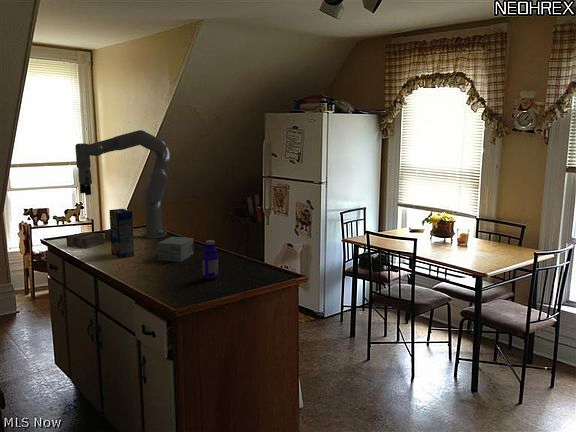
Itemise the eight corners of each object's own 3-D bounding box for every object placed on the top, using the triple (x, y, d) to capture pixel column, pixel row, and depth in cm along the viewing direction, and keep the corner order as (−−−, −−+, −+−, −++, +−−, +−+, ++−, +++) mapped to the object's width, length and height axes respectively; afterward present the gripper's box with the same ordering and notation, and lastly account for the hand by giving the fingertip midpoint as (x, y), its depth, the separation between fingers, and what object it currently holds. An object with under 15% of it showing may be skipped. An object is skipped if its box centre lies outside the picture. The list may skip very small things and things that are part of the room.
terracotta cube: (119, 239, 316) (119, 229, 315) (113, 241, 311) (112, 231, 310) (111, 238, 318) (111, 228, 317) (105, 240, 313) (104, 230, 312)
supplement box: (181, 262, 264) (181, 244, 263) (157, 260, 267) (156, 242, 265) (194, 254, 281) (193, 237, 279) (171, 253, 283) (171, 236, 282)
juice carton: (111, 254, 279) (109, 209, 275) (124, 252, 283) (122, 208, 279) (120, 258, 270) (118, 212, 266) (134, 256, 274) (132, 211, 270)
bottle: (212, 275, 241) (211, 238, 238) (220, 278, 237) (220, 240, 234) (200, 279, 235) (199, 241, 232) (208, 281, 232) (208, 243, 229)
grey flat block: (103, 244, 303) (103, 234, 302) (86, 249, 290) (85, 238, 289) (84, 242, 308) (84, 232, 307) (67, 247, 295) (66, 236, 294)
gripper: (94, 165, 299) (97, 195, 302) (85, 163, 312) (87, 192, 315) (81, 166, 294) (83, 196, 297) (72, 164, 308) (74, 193, 311)
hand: (85, 194), depth 306 cm, fingers open, 9 cm apart
